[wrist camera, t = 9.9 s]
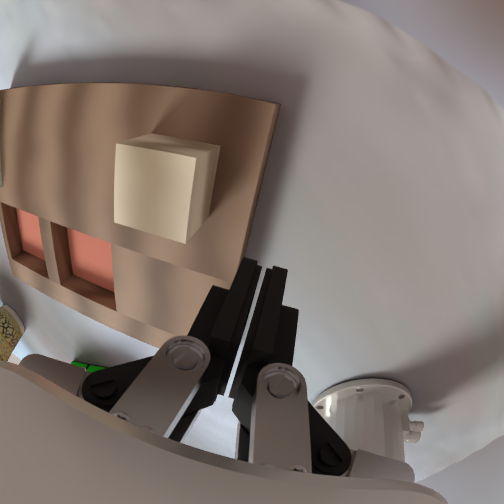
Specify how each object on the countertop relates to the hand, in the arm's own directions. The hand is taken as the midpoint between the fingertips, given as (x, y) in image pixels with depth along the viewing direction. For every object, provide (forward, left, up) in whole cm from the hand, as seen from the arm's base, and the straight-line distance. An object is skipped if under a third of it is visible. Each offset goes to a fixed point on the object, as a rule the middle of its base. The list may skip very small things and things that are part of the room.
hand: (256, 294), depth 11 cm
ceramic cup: (+44, +34, -12) cm, 57 cm away
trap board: (+17, +6, -11) cm, 21 cm away
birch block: (+7, -1, -9) cm, 12 cm away
